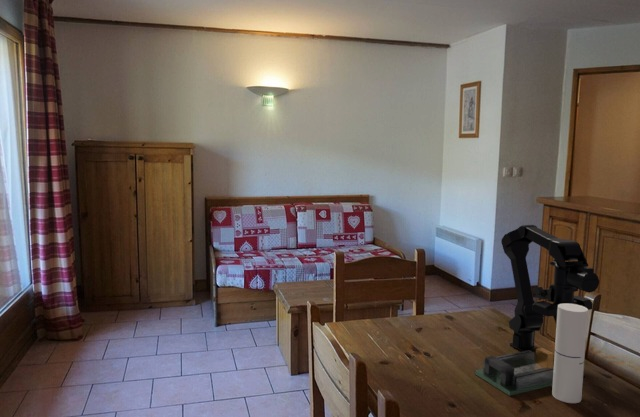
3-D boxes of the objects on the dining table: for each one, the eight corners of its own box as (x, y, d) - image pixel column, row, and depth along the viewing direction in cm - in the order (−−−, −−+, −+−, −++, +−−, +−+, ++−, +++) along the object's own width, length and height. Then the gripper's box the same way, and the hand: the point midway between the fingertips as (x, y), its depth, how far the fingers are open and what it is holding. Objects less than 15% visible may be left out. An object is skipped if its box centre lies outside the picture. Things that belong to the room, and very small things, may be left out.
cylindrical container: (546, 390, 136) (552, 303, 133) (571, 389, 136) (577, 303, 133) (561, 403, 129) (567, 312, 126) (587, 402, 129) (594, 311, 126)
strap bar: (540, 364, 149) (541, 347, 148) (552, 370, 145) (553, 353, 144) (505, 372, 144) (506, 354, 143) (516, 378, 140) (517, 360, 139)
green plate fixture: (530, 362, 154) (531, 343, 153) (568, 381, 141) (569, 361, 140) (474, 374, 146) (475, 354, 145) (509, 395, 133) (510, 374, 132)
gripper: (564, 273, 157) (561, 320, 159) (519, 279, 150) (517, 328, 152) (595, 282, 147) (591, 332, 148) (549, 288, 139) (546, 341, 141)
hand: (560, 333), depth 148 cm, fingers closed
